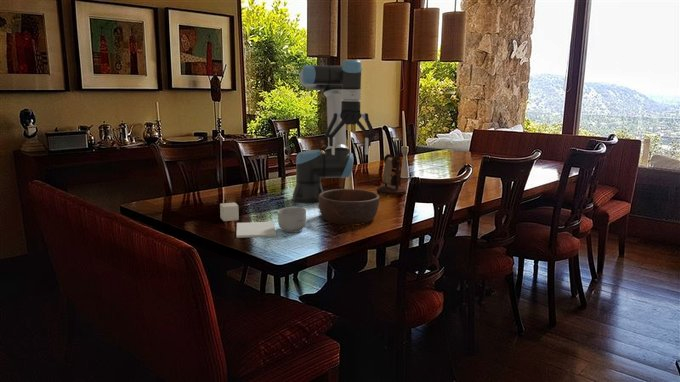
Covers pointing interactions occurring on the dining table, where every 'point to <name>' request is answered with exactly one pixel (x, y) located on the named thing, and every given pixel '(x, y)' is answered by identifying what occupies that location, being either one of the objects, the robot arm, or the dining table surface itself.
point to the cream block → (229, 211)
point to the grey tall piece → (391, 176)
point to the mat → (255, 229)
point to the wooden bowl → (348, 206)
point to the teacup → (292, 219)
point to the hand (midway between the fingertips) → (349, 154)
